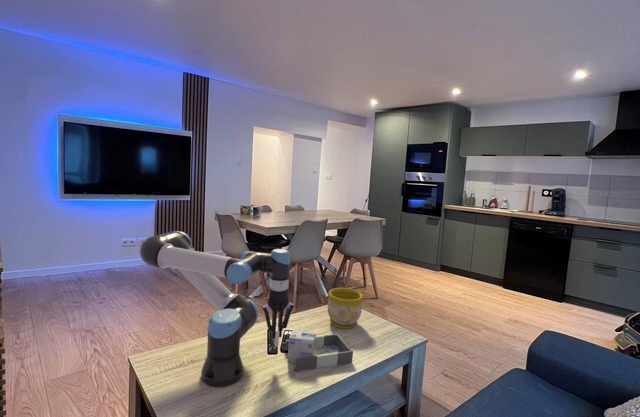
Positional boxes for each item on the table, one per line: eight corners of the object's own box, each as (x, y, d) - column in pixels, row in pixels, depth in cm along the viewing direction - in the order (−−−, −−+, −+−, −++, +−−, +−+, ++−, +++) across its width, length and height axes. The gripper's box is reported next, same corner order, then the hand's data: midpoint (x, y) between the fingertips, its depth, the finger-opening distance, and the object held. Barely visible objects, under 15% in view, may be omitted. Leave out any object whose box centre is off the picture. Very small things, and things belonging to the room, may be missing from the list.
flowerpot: (343, 335, 163) (346, 303, 161) (319, 321, 176) (321, 291, 174) (367, 325, 175) (370, 295, 173) (342, 313, 188) (345, 285, 186)
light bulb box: (314, 356, 142) (316, 332, 141) (312, 365, 135) (314, 340, 134) (290, 353, 143) (291, 329, 142) (286, 362, 136) (288, 337, 135)
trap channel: (295, 371, 130) (295, 359, 130) (284, 350, 144) (285, 340, 144) (352, 362, 139) (353, 351, 139) (336, 344, 154) (337, 333, 153)
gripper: (264, 293, 126) (261, 351, 128) (297, 290, 130) (294, 347, 133) (260, 286, 133) (258, 342, 135) (292, 284, 137) (289, 338, 140)
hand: (276, 344), depth 134 cm, fingers closed
